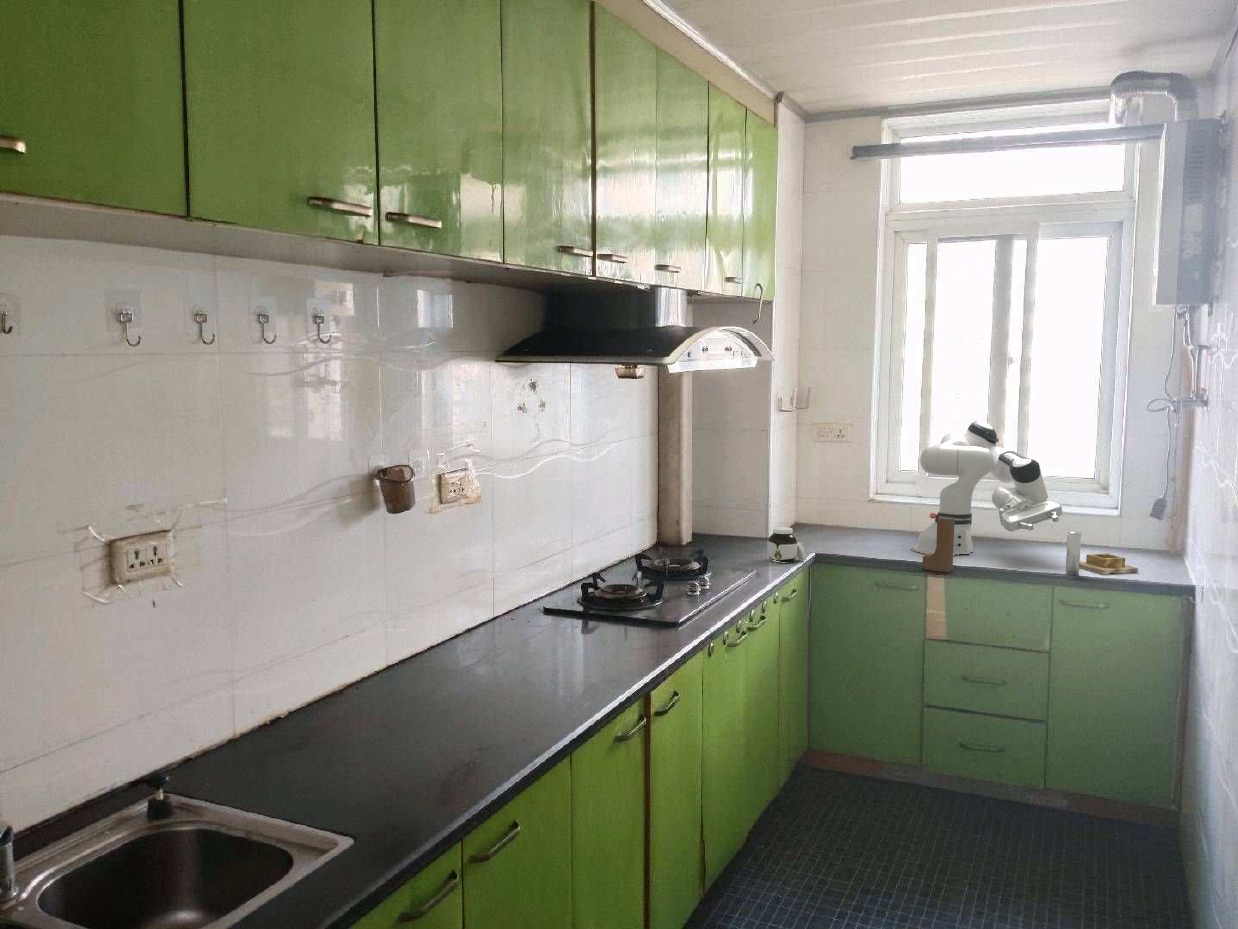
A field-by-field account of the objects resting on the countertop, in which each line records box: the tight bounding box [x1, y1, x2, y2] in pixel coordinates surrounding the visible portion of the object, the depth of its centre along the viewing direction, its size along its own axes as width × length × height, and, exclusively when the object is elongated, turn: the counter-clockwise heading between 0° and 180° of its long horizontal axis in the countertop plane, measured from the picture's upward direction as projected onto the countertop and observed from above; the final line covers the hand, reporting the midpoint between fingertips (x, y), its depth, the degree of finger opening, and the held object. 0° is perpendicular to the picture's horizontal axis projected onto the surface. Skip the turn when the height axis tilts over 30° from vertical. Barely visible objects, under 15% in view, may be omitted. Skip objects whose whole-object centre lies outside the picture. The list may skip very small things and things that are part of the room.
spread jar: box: [767, 526, 807, 563], centre depth 349 cm, size 12×11×12 cm
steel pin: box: [1065, 530, 1082, 576], centre depth 329 cm, size 4×4×14 cm
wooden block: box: [921, 517, 955, 573], centre depth 334 cm, size 9×4×18 cm, turn 52°
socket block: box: [1079, 552, 1139, 575], centre depth 337 cm, size 14×14×4 cm
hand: (1044, 524), depth 339 cm, fingers open, 8 cm apart
